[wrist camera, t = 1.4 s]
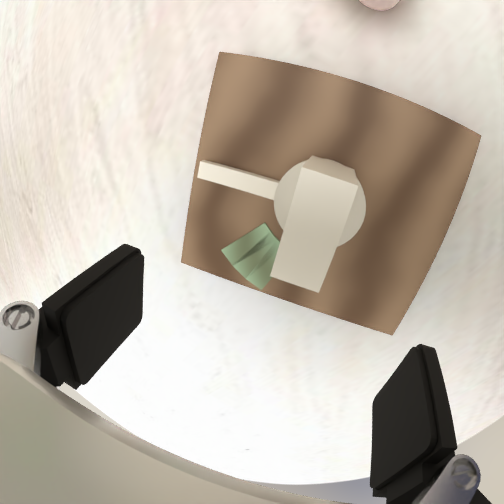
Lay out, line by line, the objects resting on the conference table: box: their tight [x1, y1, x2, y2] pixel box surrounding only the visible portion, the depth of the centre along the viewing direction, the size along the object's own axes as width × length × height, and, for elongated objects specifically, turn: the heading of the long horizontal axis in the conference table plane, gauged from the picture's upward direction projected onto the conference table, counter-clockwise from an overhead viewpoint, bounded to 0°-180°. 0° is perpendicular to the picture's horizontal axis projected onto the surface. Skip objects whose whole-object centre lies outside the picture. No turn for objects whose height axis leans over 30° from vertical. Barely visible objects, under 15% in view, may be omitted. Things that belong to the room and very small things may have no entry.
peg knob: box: [197, 155, 366, 293], centre depth 21 cm, size 14×7×7 cm, turn 77°
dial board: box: [181, 52, 481, 335], centre depth 24 cm, size 22×20×1 cm
